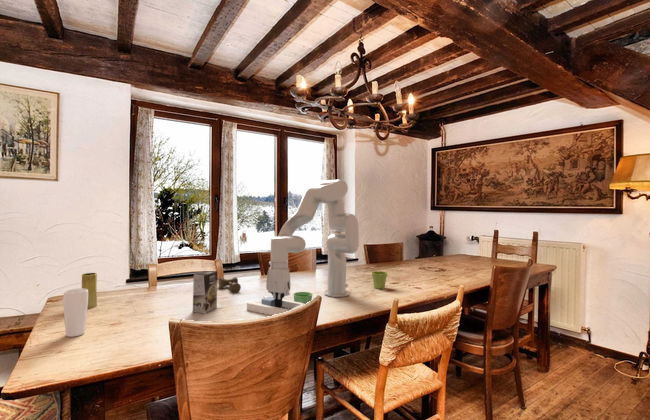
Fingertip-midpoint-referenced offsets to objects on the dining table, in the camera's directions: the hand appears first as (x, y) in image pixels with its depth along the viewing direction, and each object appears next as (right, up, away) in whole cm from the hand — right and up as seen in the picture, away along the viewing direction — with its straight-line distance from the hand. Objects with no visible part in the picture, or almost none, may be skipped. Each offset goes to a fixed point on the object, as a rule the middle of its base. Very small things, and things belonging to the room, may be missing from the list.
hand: (278, 307), depth 142 cm
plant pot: (+51, -2, +45) cm, 68 cm away
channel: (-1, -1, +1) cm, 2 cm away
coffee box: (-32, -1, -1) cm, 32 cm away
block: (-4, -1, +2) cm, 5 cm away
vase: (-83, 0, 0) cm, 82 cm away
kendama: (-31, -1, +36) cm, 48 cm away
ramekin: (+10, -2, +12) cm, 15 cm away
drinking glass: (-65, -1, -30) cm, 72 cm away
